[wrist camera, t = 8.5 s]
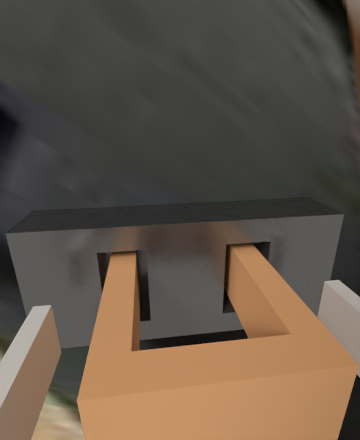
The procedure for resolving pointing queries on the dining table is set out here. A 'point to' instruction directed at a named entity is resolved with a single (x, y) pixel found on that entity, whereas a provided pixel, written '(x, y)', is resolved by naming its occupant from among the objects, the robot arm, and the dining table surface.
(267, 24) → the dining table surface
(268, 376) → the clip
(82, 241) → the grey slotted block
